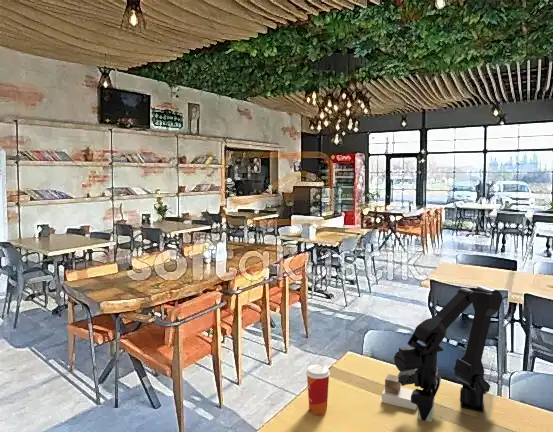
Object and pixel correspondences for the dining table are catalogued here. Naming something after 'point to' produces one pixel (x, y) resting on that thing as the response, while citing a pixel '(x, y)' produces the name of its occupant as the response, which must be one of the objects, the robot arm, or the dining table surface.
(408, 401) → the base slab
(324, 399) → the paper cup
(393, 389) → the walnut cube
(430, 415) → the sage cube
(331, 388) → the dining table surface
